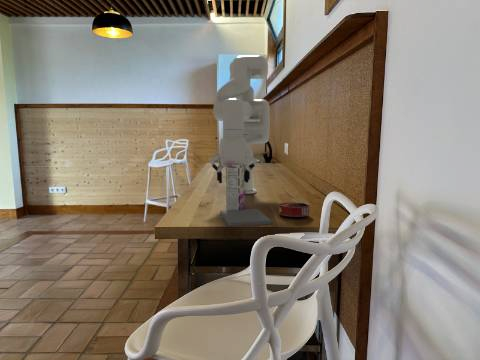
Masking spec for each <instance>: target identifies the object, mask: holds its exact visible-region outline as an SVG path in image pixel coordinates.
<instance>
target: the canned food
mask: <svg viewBox="0 0 480 360" xmlns="http://www.w3.org/2000/svg"><path fill="white" fill-rule="evenodd" d="M281 189H282V190H283V191H284V193H286V194H287V195H288V196H289V197H290V198H291V199H294V200H296V201H298V202H281V203H279V204H278V214H279V215H281V216H284V217H293V218H294V217H295V218H296V217H307V216H309V215H310V204H308V203H305V202H303V201H301V200H299V199H298V198H296V197H293V196H292V195H291V194H290V193H288V192H287V191H286V190H285V189H284V188H283V187H281Z"/></svg>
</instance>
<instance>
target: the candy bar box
mask: <svg viewBox="0 0 480 360" xmlns="http://www.w3.org/2000/svg"><path fill="white" fill-rule="evenodd" d="M225 186H226V189H225V191H226V192H225V194H226V201H225V202H226V204H225V205H226V210H244V208H245V207H246V194H245V167H244V165H229V166H227V167H225Z"/></svg>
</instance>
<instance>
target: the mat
mask: <svg viewBox="0 0 480 360" xmlns="http://www.w3.org/2000/svg"><path fill="white" fill-rule="evenodd" d="M219 213H220V216H221V217H222V218H223V221H225V223H226V225H227V227H241V226H256V225H257V226H258V225H271V224H272V220H271V219H270V217H267V215H265V214H264V213H263V212H262V211H261V210H259V208H249V209H247V208H246V209H243V210H227V209H225V210H220V211H219Z"/></svg>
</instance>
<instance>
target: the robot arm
mask: <svg viewBox="0 0 480 360" xmlns="http://www.w3.org/2000/svg"><path fill="white" fill-rule="evenodd" d="M268 73H269V64H268V61H267V58H265V56H264V55H262V54H261V55H260V54H259V55H258V54H257V55H256V54H255V55H250V54H249V55H237V56H236V57H234V58H233V60H232V61H231V62H230V64H229V81H227V82H226V83H224V84H223V85H222V86H221V87H220V88H219V89H218V90H217V91H216V94H215V97H214V102H213V111H212V112H213V117H214V119H215V120H216V121H219V122H222V138H220V140H219V149H218V154H217V155H216V156H214V157H211V158H210V159H209V164H210V166H211V167H212V168H213V169H214V170H215V171H216V181H217V182H218V183H219V184H222V183H223V172H222V170H223V169H224V168H226V167H227V166H229V165H244V167H245V195H251V194H256V193H257V189H256V188H254V167H255V165H256V164H257V162H258V159H257V158H255V157H254V152H253V151H252V149H251V148H250V146H248V145H249V144H266V143H268V142H269V140H270V134H271V133H270V131H271V129H270V126H271V121H270V120H271V106H270V103H269V101H267V99H258V98H257V99H255V98H254V97H255V90H254V88H253V87H252V86H251V80H252V79H253V80H260V79H262V80H263V79H266V78H267V76H268ZM217 160H218V166H217V165H216V163H215V162H216V161H217Z"/></svg>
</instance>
